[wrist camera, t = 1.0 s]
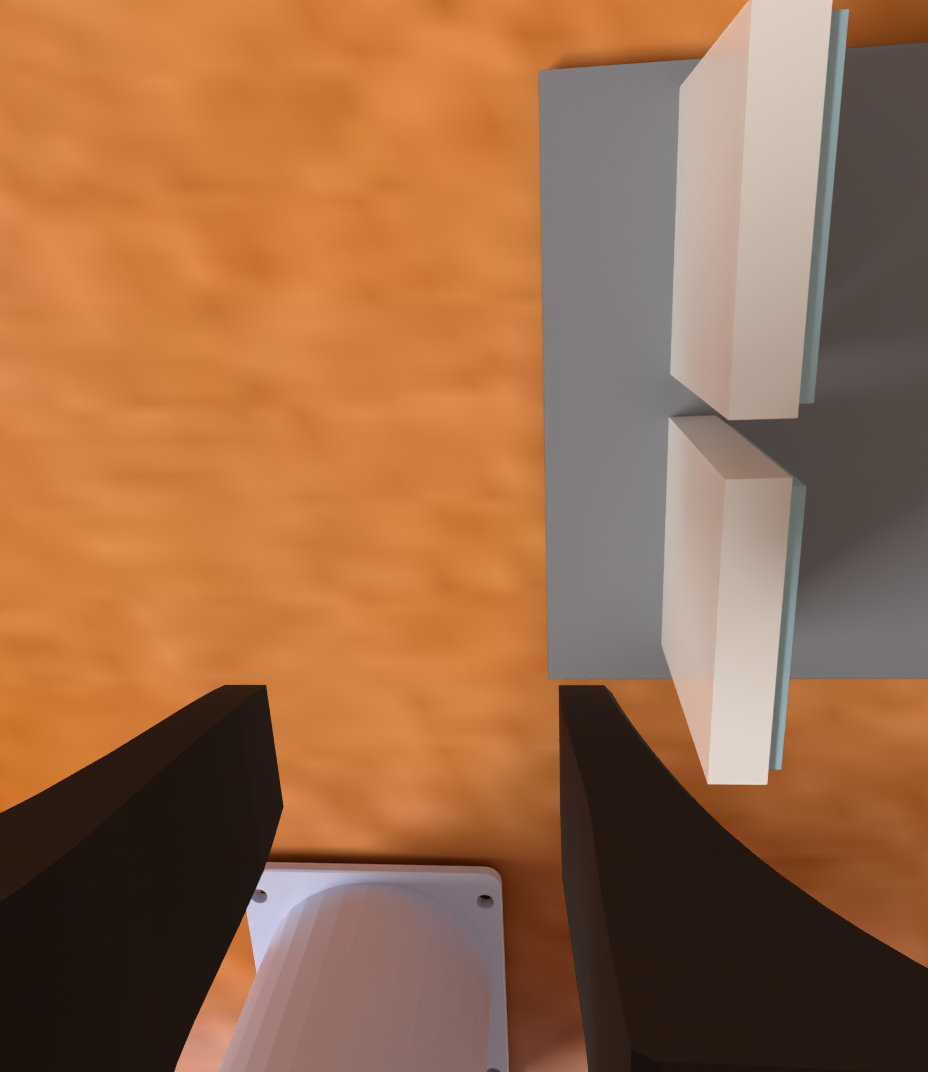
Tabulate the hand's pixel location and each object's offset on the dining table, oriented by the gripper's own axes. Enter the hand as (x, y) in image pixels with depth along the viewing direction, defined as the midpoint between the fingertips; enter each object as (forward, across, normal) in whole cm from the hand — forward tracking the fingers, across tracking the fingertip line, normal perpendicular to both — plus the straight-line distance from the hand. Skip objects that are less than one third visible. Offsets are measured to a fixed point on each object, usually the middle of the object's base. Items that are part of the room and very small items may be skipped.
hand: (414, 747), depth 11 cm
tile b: (+10, -5, -7) cm, 13 cm away
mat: (+10, -8, -3) cm, 14 cm away
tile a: (+10, -5, 0) cm, 11 cm away
